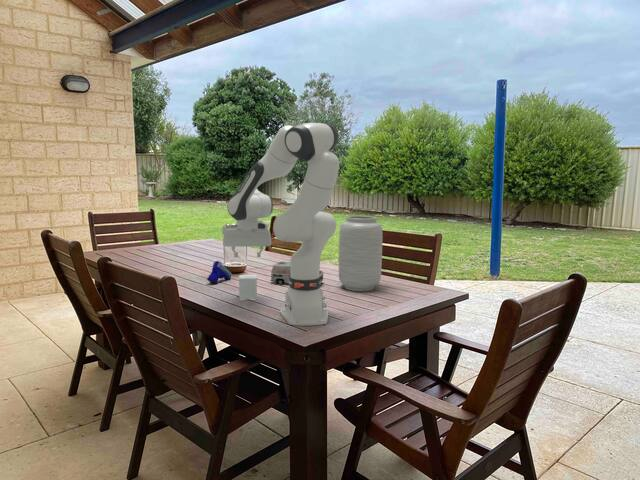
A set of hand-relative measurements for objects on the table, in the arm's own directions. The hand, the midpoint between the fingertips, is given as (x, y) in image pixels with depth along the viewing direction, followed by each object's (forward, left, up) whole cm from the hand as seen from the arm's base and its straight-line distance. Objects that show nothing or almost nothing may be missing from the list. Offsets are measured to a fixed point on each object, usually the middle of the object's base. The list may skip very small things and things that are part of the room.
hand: (247, 256), depth 196 cm
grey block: (+3, 0, -18) cm, 18 cm away
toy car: (+26, -23, -18) cm, 39 cm away
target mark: (0, 0, -18) cm, 18 cm away
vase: (+15, -52, -18) cm, 57 cm away
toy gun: (+32, +14, -18) cm, 39 cm away
